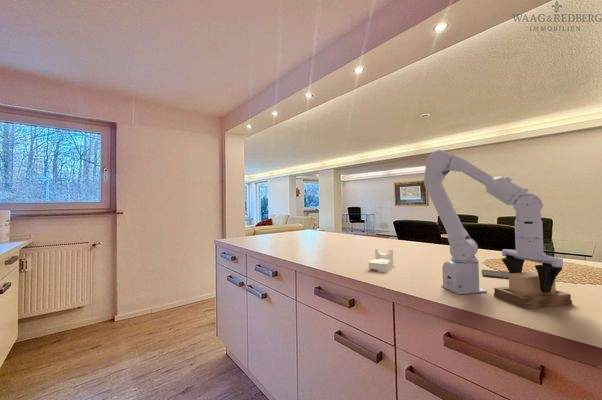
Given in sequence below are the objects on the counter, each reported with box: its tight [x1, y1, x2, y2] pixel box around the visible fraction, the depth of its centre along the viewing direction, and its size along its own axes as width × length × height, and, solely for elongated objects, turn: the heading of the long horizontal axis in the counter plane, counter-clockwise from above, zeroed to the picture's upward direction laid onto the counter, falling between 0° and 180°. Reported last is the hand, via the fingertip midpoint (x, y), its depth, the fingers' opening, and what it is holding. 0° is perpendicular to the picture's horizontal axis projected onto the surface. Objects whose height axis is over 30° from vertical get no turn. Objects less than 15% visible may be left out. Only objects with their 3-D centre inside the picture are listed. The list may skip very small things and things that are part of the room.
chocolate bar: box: [481, 268, 509, 280], centre depth 92 cm, size 9×1×18 cm
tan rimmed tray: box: [493, 286, 573, 310], centre depth 70 cm, size 14×9×2 cm, turn 98°
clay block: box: [508, 270, 557, 296], centre depth 70 cm, size 10×4×6 cm, turn 98°
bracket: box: [368, 247, 394, 273], centre depth 109 cm, size 13×7×8 cm, turn 149°
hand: (530, 287), depth 70 cm, fingers open, 7 cm apart
